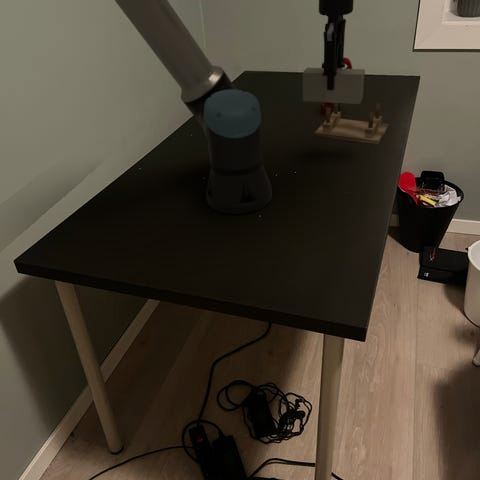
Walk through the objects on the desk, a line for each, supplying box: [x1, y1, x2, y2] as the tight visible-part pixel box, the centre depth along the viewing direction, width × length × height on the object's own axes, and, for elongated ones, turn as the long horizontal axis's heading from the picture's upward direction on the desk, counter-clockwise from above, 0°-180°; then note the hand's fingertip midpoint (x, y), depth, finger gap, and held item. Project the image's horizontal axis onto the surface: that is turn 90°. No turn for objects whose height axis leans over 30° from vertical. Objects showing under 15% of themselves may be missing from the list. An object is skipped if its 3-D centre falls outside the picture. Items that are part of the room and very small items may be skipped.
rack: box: [314, 102, 390, 145], centre depth 135 cm, size 12×18×8 cm, turn 63°
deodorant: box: [320, 62, 342, 117], centre depth 145 cm, size 6×6×15 cm
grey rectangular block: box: [302, 67, 366, 105], centre depth 116 cm, size 4×14×7 cm, turn 70°
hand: (332, 98), depth 118 cm, fingers closed on grey rectangular block, 4 cm apart
